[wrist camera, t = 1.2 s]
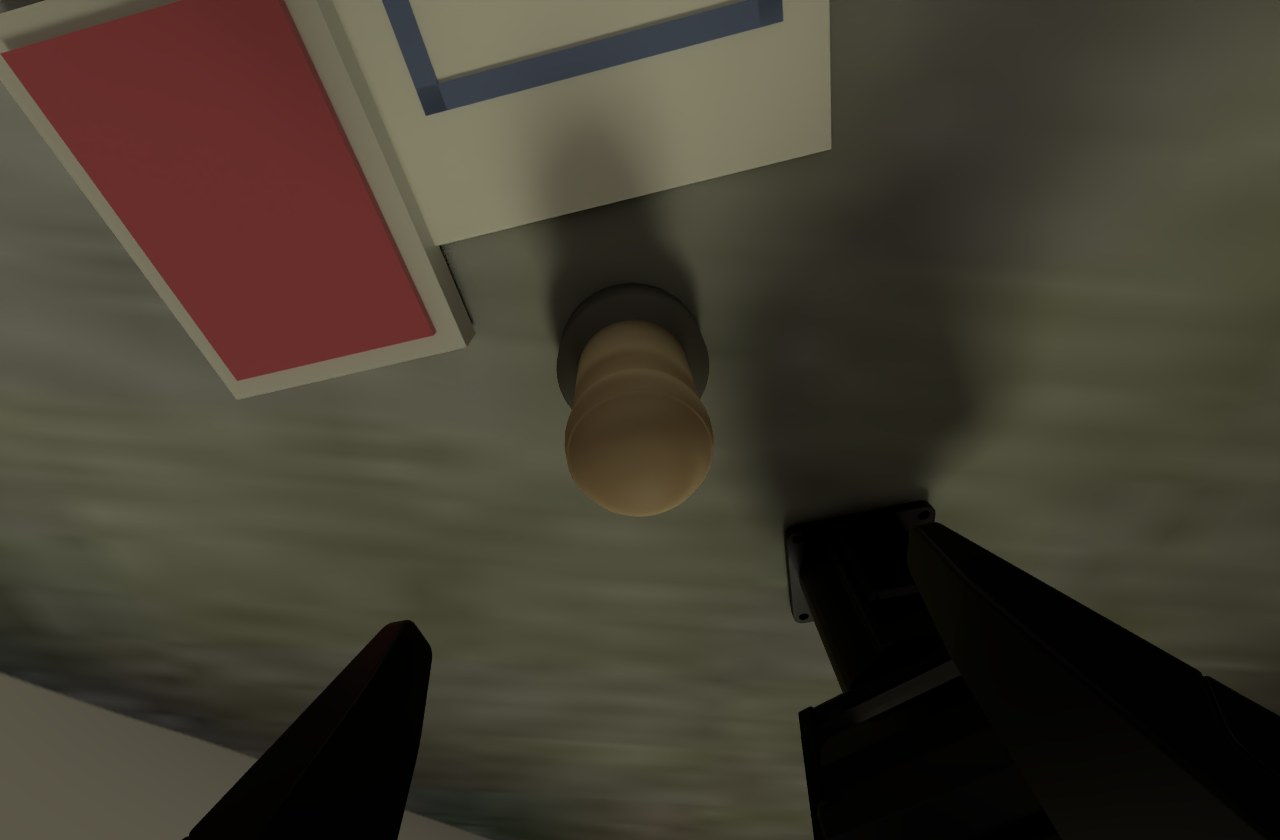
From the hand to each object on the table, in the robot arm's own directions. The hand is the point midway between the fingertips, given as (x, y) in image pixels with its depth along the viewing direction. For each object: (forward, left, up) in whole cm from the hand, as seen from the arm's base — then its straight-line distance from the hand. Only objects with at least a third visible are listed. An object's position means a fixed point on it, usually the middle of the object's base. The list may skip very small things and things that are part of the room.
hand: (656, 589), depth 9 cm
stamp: (0, 0, -10) cm, 10 cm away
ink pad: (+7, +9, -10) cm, 15 cm away
